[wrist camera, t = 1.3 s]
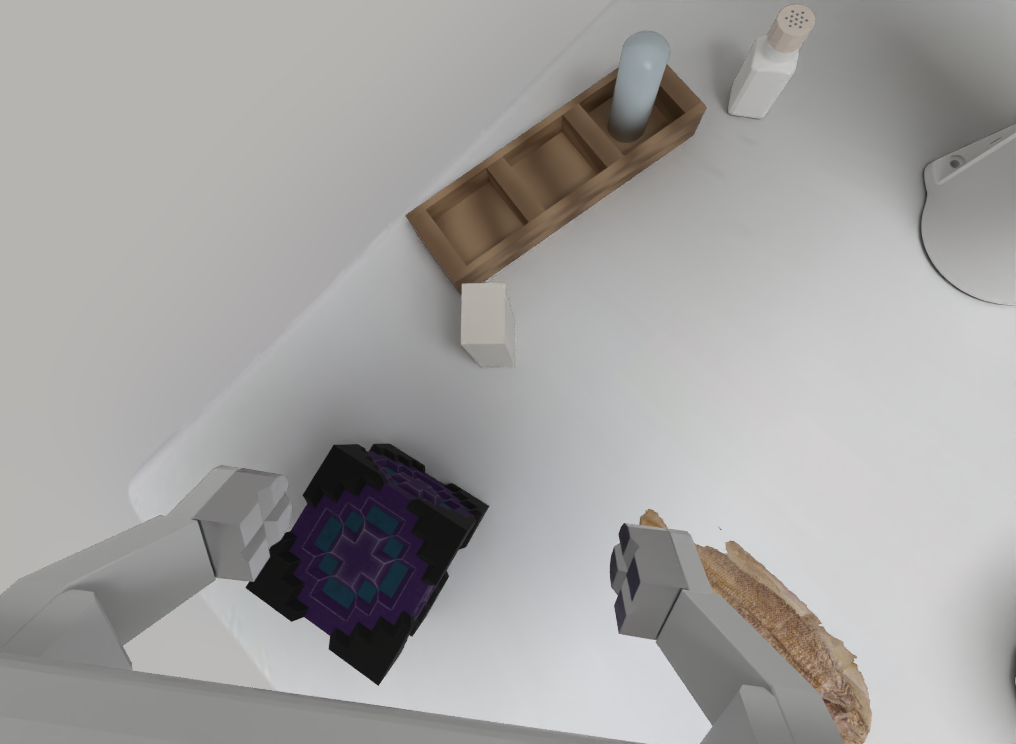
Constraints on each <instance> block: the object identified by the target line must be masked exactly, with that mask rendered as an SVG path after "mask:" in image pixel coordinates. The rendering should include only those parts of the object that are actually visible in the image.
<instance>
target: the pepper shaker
mask: <svg viewBox="0 0 1016 744" xmlns="http://www.w3.org/2000/svg"><path fill="white" fill-rule="evenodd" d="M815 22H816V21H815V15H814V13H813V12H812V11H811V10H810V9H809V8H808V7H806V6H803V5H800V4H795V5H788V6H787V7H785V8H784V9H782V10H781V11H780V12H779V14H778V16H777V18H776V20H775V22H774V24H773V25H772V27H771V29H770V30H769V32H768V34H767V35H762V36H760V37H758V38H757V39H756V40H755V42H754V44H753V46H752V48H751V50H750V52H749V54H748V55H747V57H746V59H745V61H744V63H743V65H742V67H741V69H740V71H739V73H738V75H737V77H736V78H735V80H734V82H733V84H732V89H731V94H730V100H729V105H728V113H729V114H731V115H736V116H743V117H750V118H757V119H760V118H763V117H764V116H765V115H766V114H767V112H768V111H769V109H770V108H771V106H772V105H773V103H774V102H775V100H776V99H777V97H778V96H779V94H780V93H781V91H782V90H783V88H784V87H785V85H786V84H787V82H788V81H789V80H790V78H791V77H792V75H793V74H794V72H795V69H796V65H797V61H798V56H799V49H800V47H801V46H802V45H803V43H804V41H805V40H806V38H807V37H808V35H809V33H810V32H811V30H812V28H813V26H814V24H815Z"/></svg>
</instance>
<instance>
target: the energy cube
mask: <svg viewBox="0 0 1016 744" xmlns="http://www.w3.org/2000/svg"><path fill="white" fill-rule="evenodd" d="M303 497H304V498H305V500H306V501H307V503H308V504H307V505H306V507H305V509H304V510H303V512H302V513H301V515H300V517H299V518H298V520H297V522H296V523H295V525H294V526H293V528H292V530H291V531H290V532H286V533H285V534H284V536H283V537H282V539H281V540H280V541H279V542H277V543H275V544H274V545H272V546H271V547H270V549H269V553H270V557H269V559H268V560H267V562H266V564H265V565H264V567H263V568H262V570H261V571H260V573H259V574H258V576H257V577H256V579H255V580H254V582H251V581H249V583H248V584H247V586H246V589H248V590H249V591H250V592H252V593H253V594H255V595H256V596H257V597H259V598H260V599H261V600H263V601H264V602H265V603H267V604H268V605H270V606H271V607H272V608H274V609H275V610H276V611H278V612H279V613H280V614H282V615H283V616H284V617H286V618H287V619H289V620H290V621H291V622H292V621H295V620H297V619H300V618H302V617H305V618H306V619H308V620H309V621H310V622H312V623H313V624H315V625H316V626H317V627H319V628H320V629H321V630H323V631H324V632H326V633H327V634H328V635H330V643H329V650H331V651H332V652H333V653H335V654H336V655H337V656H339V657H340V658H341V659H343V660H344V661H346V662H347V663H348V664H350V665H351V666H352V667H354V668H355V669H356V670H358V671H359V672H360V673H362V674H363V675H365V676H366V677H367V678H369V679H370V680H371V681H373V682H374V683H375V684H377V685H378V686H379V684H380V683H381V681H382V680H383V678H384V677H385V676H386V674H387V673H388V671H389V670H390V668H391V667H392V665H393V664H394V662H395V661H396V659H397V658H398V657H399V655H400V653H401V652H402V650H403V648H404V645H405V643H406V641H407V638H408V636H409V635H410V636H413V635H414V633H415V632H416V630H417V629H418V627H419V626H420V625H421V623H422V622H423V620H424V619H425V617H426V616H427V614H428V612H429V610H430V609H431V607H432V605H433V603H434V602H435V600H436V598H437V596H438V595H439V593H440V591H441V589H442V588H443V586H444V584H445V582H446V581H447V579H448V577H449V575H448V573H447V571H446V570H447V569H448V567H449V565H450V563H451V562H452V560H453V558H454V556H455V555H456V553H457V551H458V550H459V549H462V548H465V547H466V546H467V544H468V542H469V541H470V539H471V537H472V535H473V534H474V532H475V530H476V528H477V527H478V525H479V523H480V521H481V520H482V518H483V516H484V514H485V513H486V511H487V509H488V507H489V506H488V505H486V504H485V503H483V502H482V501H480V500H478V499H477V498H475V497H474V496H472V495H470V494H469V493H467V492H466V491H464V490H462V489H461V488H459V487H458V486H456V485H454V484H453V483H452V484H448V485H444V484H442V483H441V482H439V481H437V480H436V479H434V478H433V477H431V476H429V475H428V474H426V473H425V466H424V465H423V464H421V463H420V462H418V461H416V460H415V459H413V458H412V457H410V456H408V455H407V454H405V453H404V452H402V451H400V450H399V449H397V448H396V447H394V446H393V445H391V444H373V446H372V447H371V449H370V451H369V452H366V450H365V448H363V447H361V446H360V445H358V444H351V445H333V447H332V449H331V450H330V452H329V453H328V455H327V457H326V458H325V460H324V462H323V463H322V465H321V466H320V468H319V470H318V471H317V473H316V474H315V476H314V478H313V479H312V481H311V483H310V484H309V486H308V487H307V489H306V491H305V492H304V494H303Z"/></svg>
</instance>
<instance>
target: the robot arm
mask: <svg viewBox="0 0 1016 744" xmlns="http://www.w3.org/2000/svg"><path fill="white" fill-rule="evenodd" d="M924 179H925V185H926V190H927V200H926V204H925V208H924V211H923V215H922V224H921V229H922V238H923V242H924V245H925V248H926V251H927V253H928V255H929V257H930V259H931V261H932V262H933V264H934V265H935V267H936V268H937V269H938V270H939V272H940V273H941V274H942V275H943V276H944V277H945V278H946V279H947V280H948V281H949V282H951V283H952V284H953V285H955V286H956V287H957V288H959V289H960V290H962V291H964V292H965V293H967V294H969V295H971V296H974V297H976V298H978V299H981V300H984V301H988V302H992V303H997V304H1004V305H1016V124H1014V125H1012V126H1010V127H1008V128H1005V129H1003V130H1001V131H999V132H996V133H994V134H992V135H990V136H988V137H985V138H983V139H981V140H979V141H976V142H974V143H972V144H970V145H968V146H965V147H963V148H961V149H959V150H956V151H954V152H952V153H950V154H948V155H945V156H943V157H941V158H939V159H937V160H935V161H934V162H932V163H930V164H929V165H927V167H926V168H925V171H924ZM288 488H289V486H288V481H287V477H286V476H283V475H280V474H274V473H268V472H262V471H256V470H250V469H244V468H236V467H230V466H224V465H221V466H218V467H216V468H214V469H213V470H212V471H211V472H210V473H209V474H208V475H207V476H206V477H205V478H204V479H203V480H202V481H201V482H200V483H199V484H198V485H197V486H196V487H195V488H194V489H193V490H192V491H191V492H190V493H189V494H188V495H187V496H186V497H185V498H184V499H183V500H182V501H181V502H180V503H179V504H178V505H177V506H176V507H175V508H174V509H173V510H172V511H171V512H170V513H169V514H168V515H167V516H162V515H159V516H157V517H155V518H153V519H151V520H148V521H146V522H144V523H142V524H140V525H137V526H135V527H133V528H131V529H128V530H126V531H124V532H122V533H120V534H117V535H116V536H113V537H111V538H109V539H106V540H104V541H102V542H100V543H98V544H95V545H93V546H91V547H89V548H87V549H84V550H82V551H80V552H78V553H76V554H73V555H71V556H69V557H67V558H65V559H62V560H60V561H58V562H56V563H53V564H51V565H49V566H47V567H45V568H42V569H40V570H38V571H36V572H34V573H31V574H29V575H27V576H25V577H23V578H20V579H19V580H17V581H16V582H15V583H14V584H13V585H11V586H10V587H9V588H8V589H7V590H6V591H4V592H3V593H2V594H1V595H0V744H644V743H637V742H630V741H623V740H616V739H609V738H602V737H595V736H588V735H581V734H574V733H567V732H560V731H553V730H546V729H539V728H532V727H525V726H518V725H511V724H504V723H497V722H490V721H483V720H476V719H469V718H462V717H455V716H448V715H441V714H434V713H427V712H420V711H413V710H406V709H399V708H392V707H385V706H378V705H371V704H364V703H357V702H349V701H342V700H335V699H328V698H321V697H314V696H307V695H300V694H293V693H286V692H279V691H272V690H265V689H258V688H251V687H244V686H237V685H229V684H222V683H215V682H208V681H202V680H194V679H187V678H180V677H173V676H166V675H159V674H152V673H145V672H138V671H132V663H131V661H130V659H129V657H128V655H127V653H126V652H125V650H124V648H123V645H124V644H126V643H127V642H129V641H130V640H132V639H133V638H134V637H136V636H137V635H138V634H140V633H141V632H143V631H144V630H145V629H147V628H148V627H150V626H151V625H153V624H154V623H155V622H157V621H158V620H160V619H161V618H162V617H164V616H165V615H167V614H168V613H169V612H171V611H172V610H174V609H175V608H176V607H178V606H179V605H181V604H182V603H183V602H185V601H186V600H188V599H189V598H191V597H192V596H193V595H195V594H196V593H198V592H199V591H200V590H202V589H203V588H205V587H206V586H207V585H209V584H210V583H212V582H213V581H214V580H215V578H224V579H233V580H242V581H251V582H254V580H255V579H256V577H257V576H258V574H259V573H260V571H261V570H262V568H263V567H264V565H265V564H266V562H267V560H268V559H269V557H270V553H269V547H270V546H272V545H274V544H275V543H277V542H279V541H280V540H281V539H282V537H283V536H284V534H285V532H286V531H287V528H288V525H289V523H290V520H291V514H292V505H291V500H290V499H289V498H288V497H287V496H286V495H285V494H284V493H285V492H286V490H287V489H288ZM619 539H620V543H619V544H618V545H616V546H614V549H613V552H612V555H611V561H610V580H611V587H612V589H613V590H614V591H615V592H616V594H617V595H618V597H617V600H616V602H615V605H614V607H615V613H616V619H617V625H618V631H619V634H623V635H629V636H635V637H641V638H647V639H653V640H657V641H656V643H657V645H658V646H659V648H660V649H661V650H662V652H663V653H664V655H665V656H666V658H667V659H668V661H669V662H670V664H671V665H672V667H673V668H674V670H675V671H676V673H677V674H678V676H679V677H680V679H681V680H682V682H683V683H684V684H685V686H686V687H687V689H688V690H689V692H690V693H691V695H692V696H693V698H694V699H695V701H696V702H697V704H698V705H699V707H700V708H701V710H702V711H703V713H704V714H705V715H706V717H707V718H708V720H709V721H710V723H711V724H712V726H713V727H712V728H711V729H710V731H709V732H708V734H707V735H706V736H705V738H704V739H703V741H702V742H701V743H700V744H845V743H844V741H843V739H842V737H841V735H840V733H839V731H838V729H837V727H836V725H835V723H834V721H833V719H832V717H831V715H830V713H829V711H828V709H827V707H826V705H825V703H824V701H823V699H822V697H821V695H820V693H819V692H818V691H817V690H816V689H814V688H813V687H812V686H811V685H810V684H809V683H808V682H807V681H806V680H805V679H804V678H803V677H802V676H801V675H800V674H799V673H798V672H797V671H796V670H795V669H794V668H793V667H792V666H791V665H790V664H789V663H788V662H787V661H786V660H785V659H784V658H783V657H782V656H781V655H780V654H779V653H778V652H777V651H776V650H775V649H774V648H773V647H772V646H771V645H770V644H769V643H768V642H767V641H766V640H765V639H764V638H763V637H762V636H761V635H760V634H759V633H758V632H757V631H756V630H755V629H754V628H753V627H752V626H751V625H750V624H749V623H748V622H747V621H746V620H745V619H744V618H743V617H742V616H741V615H740V614H739V613H738V612H737V611H736V610H735V609H734V608H733V607H732V606H731V605H730V604H729V603H728V602H727V601H726V600H725V599H724V598H722V597H721V596H720V595H718V594H713V592H712V589H711V587H710V584H709V581H708V579H707V576H706V574H705V571H704V568H703V566H702V563H701V561H700V558H699V555H698V553H697V550H696V547H695V545H694V542H693V540H692V537H691V535H690V534H689V533H688V532H687V531H681V530H673V529H664V528H658V527H651V526H643V525H635V524H628V523H624V524H623V525H622V526H621V529H620V532H619Z"/></svg>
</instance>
